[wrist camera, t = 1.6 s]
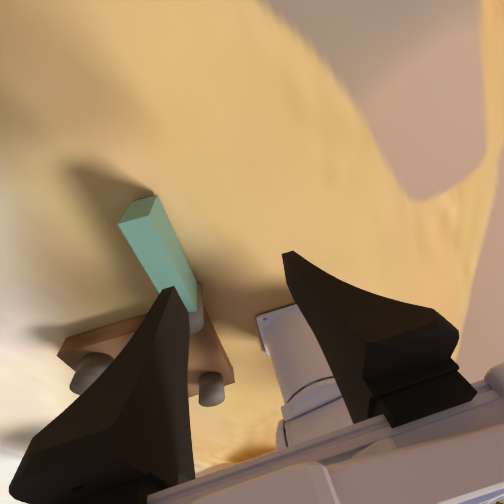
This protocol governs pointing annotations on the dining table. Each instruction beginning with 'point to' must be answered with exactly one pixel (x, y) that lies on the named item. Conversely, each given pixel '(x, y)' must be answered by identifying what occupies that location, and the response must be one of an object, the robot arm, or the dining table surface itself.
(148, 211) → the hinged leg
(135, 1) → the dining table surface
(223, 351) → the stool seat
